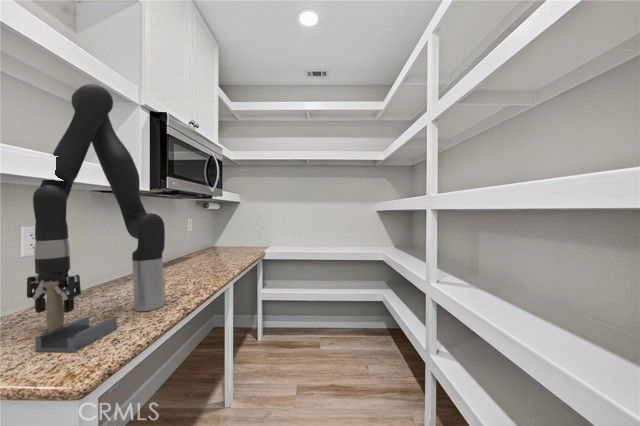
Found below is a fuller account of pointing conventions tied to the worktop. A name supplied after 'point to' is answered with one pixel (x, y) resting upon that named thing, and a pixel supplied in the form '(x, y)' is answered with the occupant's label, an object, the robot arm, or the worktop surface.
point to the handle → (53, 306)
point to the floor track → (74, 335)
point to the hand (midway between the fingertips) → (54, 312)
